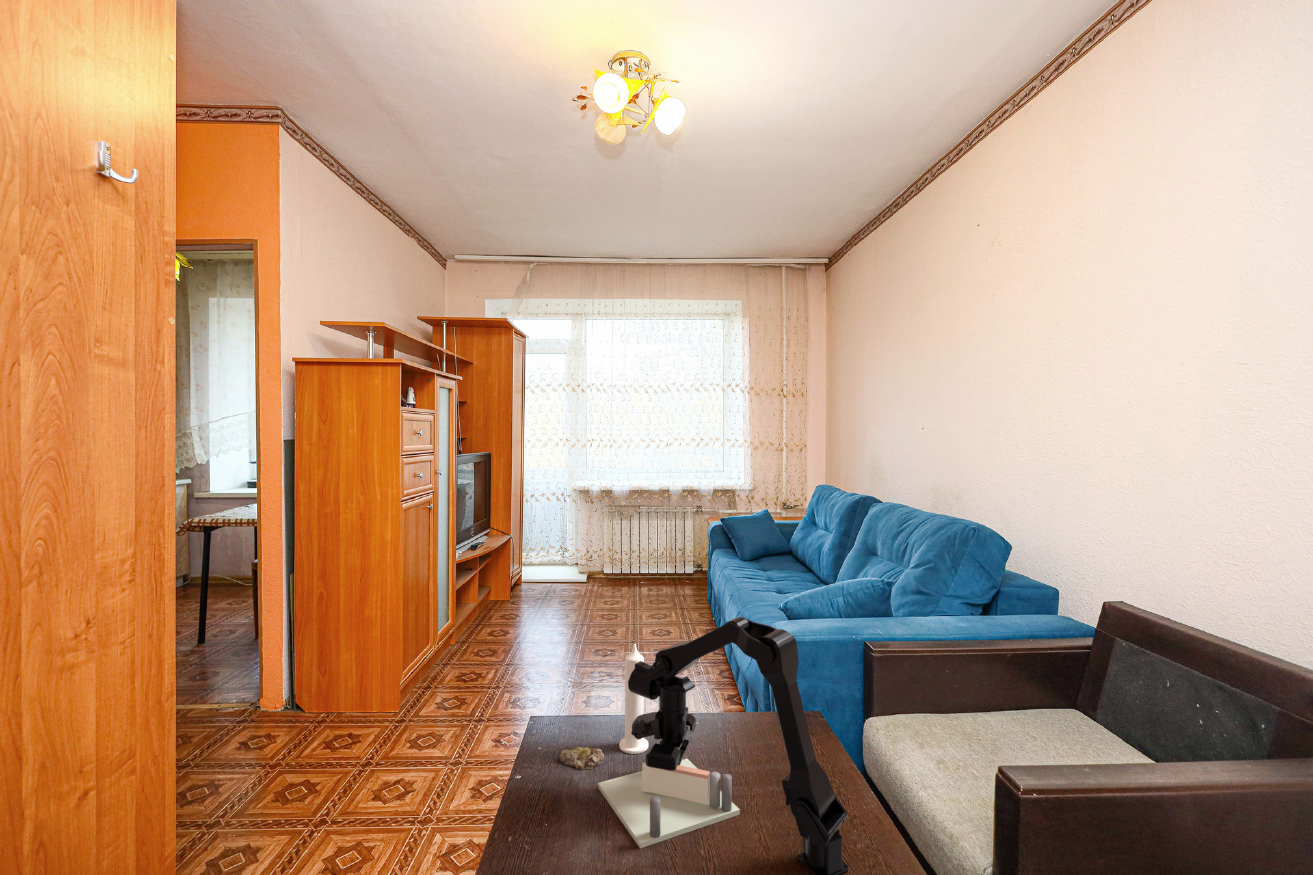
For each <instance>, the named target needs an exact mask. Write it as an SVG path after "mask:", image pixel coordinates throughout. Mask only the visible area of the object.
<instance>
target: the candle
mask: <svg viewBox="0 0 1313 875" xmlns="http://www.w3.org/2000/svg"><path fill="white" fill-rule="evenodd" d="M624 658H625V659H624V660H625V662H624V663H625V665H624V666H625V667H624V738H622V739H621V740H620V741H619V750H620V751H621V752H623V753H625V754H630V755H637V754H641V753H644V752H646V751H647V750H649V741H648V740H647V739H646V738H645V737H644V738H642V739H636V738H635V737H634V735H632V734H631V732H632V723H633V722H634V721H635V719H636V718H637V717H638V716H639V715H643V714H644V701H645V700H644V698H645V697H643V696H640V695H637V694H635V693H632V692H631V691H630V690H629V688H628V680H629V678H630V675H631V673H632V671H633V670H634V669H635V664H636V663H638V662H640V661H642V662H645V657H644V656H643V654H642V653H640V652H639V651H638V648H637V644H636V643H633V645H632V650H631V652H630V653H628V654H627V655H626V656H625V657H624Z"/></svg>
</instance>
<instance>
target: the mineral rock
mask: <svg viewBox="0 0 1313 875" xmlns="http://www.w3.org/2000/svg"><path fill="white" fill-rule="evenodd" d="M558 760H559V761H560V762H562V764H563V765H565V766H570V767H571V766H572V767H575V768H576V769H577V770H582V771H583V770H592V769H593V770H594V767H598V766H601V764H602V763H604V760H605V754H604V753H603V752H602V749H600V748H591V747H589V746H587V747H581V746H574V748H573V749H561V751H560V752H559V757H558Z"/></svg>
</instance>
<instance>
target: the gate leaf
mask: <svg viewBox="0 0 1313 875" xmlns="http://www.w3.org/2000/svg"><path fill="white" fill-rule="evenodd" d="M641 765H642V770H641V771H642V791H644V792H648V793H650V792H651V793H656V794H660V795H665V796H669V797H674V798H678V799H683V800H687V801H692V802H696V803H701V804H705V805H708V803H709V805H710V807H712V808H718V807H720V791H721V773H719V771H712V772H710V771H709V770H705V769H701V768H698V769H695V768H690V767H685V766H680V765H678V766H677V768H676V770H673V771H670V770H664V769H659V768H653V767H648V766H647V765H646V757H645V758H644V759H643V761H642V764H641Z"/></svg>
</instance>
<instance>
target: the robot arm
mask: <svg viewBox="0 0 1313 875" xmlns="http://www.w3.org/2000/svg"><path fill="white" fill-rule="evenodd" d="M731 643H732V644H734V645H736V646H737V647H738V649H740V651H741V652H742V653H743V654H744V655H746V656H748V657H749V658H751V659H753V660H755V662H756V665H757V667H758V670H759V672H760V674H761V675H762V676H763V678H764V679H765V680H766V682H767V683H768V684H769V685H770V686H769V687H770V688H771V693H772V696H773V701H774V704H775V709H776V713H777V716H778V721H779V725H780V730H781V734H782V738H783V742H784V746H785V751H786V755H787V759H788V762H789V763H788V764H789V773H788V774H787V775H786V776H785V777H784V778H782V780H781V784H782V785H781V786H782V789H783V792H784V794H785V806H789V810H790V812H791V814H792V816H793V817H794V818H795V823H796V826H797V829H798V832H799V836H800V837H802V851H803V852H801V853H799V854H797V855H796V859H797V861H799V862H800V863H801V865H803V866H804V867H805V868H806V869H807V870H808V871H809V872H810V874H812V875H840V874H842V873H847V871H849V869H850V867H849V865H848V864H847V863H845V861H843V836H842V835H841V834H840V832H841V831H840V827H842V825H843V824H844V823H845V822H846V820H847V818H848V815H849V814H848V812H847V810H846V809H845V807H844V806H843V804H842V803H841V802H840V800H839V798H838V797H837V796H836V795H835V791H834V789H833V786H832V784H831V782H830V778H829V776H828V774H827V772H826V770H825V769H823V767H822V766H821V765H820V764H819V762H818V761H817V758H816V754H815V750H814V746H813V742H812V738H811V734H810V730H809V725H808V722H807V717H806V713H805V710H804V705H803V701H802V698H801V694H800V689H799V686H798V681H797V676H798V667H799V663H800V662H799V653H798V652H799V651H798V643H797V640H796V638H795V636H794V635H793V634H791V633H790V632H789V631H788V630H785V629H781V628H779V629H778V628H776V627H773V626H771V625H769V624H768V625H767V624H763V623H761V622H755V621H752V620H750V619H748V618H746V617H744V616H737V617H735V618H732V619H730V620H729V621H727V622H725V623H724V624H723V625H721V626H719V627H717V628H715V629H713V630H711V631H710V632H707V633H705V634H703V635H702V636H699V637H698V638H695V639H693V640H686V641H682V642H678V643H677V642H676V643H675V644H672V645H670V646H668V647H666V648H664V649H661V650H658V652H656V653H655V655H654V656H655V658H654V662H653V664H652V665H651V664H648V663H646V662H645V661H644V662H642V661H640V662H638V663H636V664H635V669H634V670H633V671H632V673H631V675H630V678H629V680H628V688H629V690H630V691H631V692H632V693H635V694H637V695H640V696H643V697H644V698H645V699H649V700H651V701H655V700H657V699H658V698H659V699H658V701H659V703H658V710H657V711H651V712H648V713H643V715H639V716H638V717H637V718H636V719H635V721H634V722H633V723H632V732H631V734H632V735H634V737H635V738H636V739H642V738H644V739H645V738H647V737H652V736H653V739H654V740H659V743H657V742H655V743H653V744H652V745H651V746H650V747H649V748H648V751H647V752H646V754H645V758H646V765H647V766H648V767H653V768H659V769H664V770H670V771H673V770H676V768H677V766H678V765H680V764H681V762H682V760H683V759H684V758H685V757H684V756H685V754H686V751H687V749H688V747H689V743H690V740H689V739H685V738H686V736H687V734H688V732H690V733H694V732H695V730H696V726H697V718H696V717H695V716H694V714H692V713H689V707H687V692H689V691H691V690H693V689H695V687H696V684H695V683H694V682H693V681H692V680H691V679H690V677H689V676H688V675H686V676H684V677H680V676H677V675H679V674H681V673H683V672H686V671H687V670H689V669H690V668H691V667H693V665H695V664H696V663H697V662H698V661H699V660H700V659H701V658H702V657H704V656H706V655H708V654H710V653H713V652H715V651H717V650H719V649H721V648H723V647H725V646H727V645H729V644H731Z"/></svg>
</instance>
